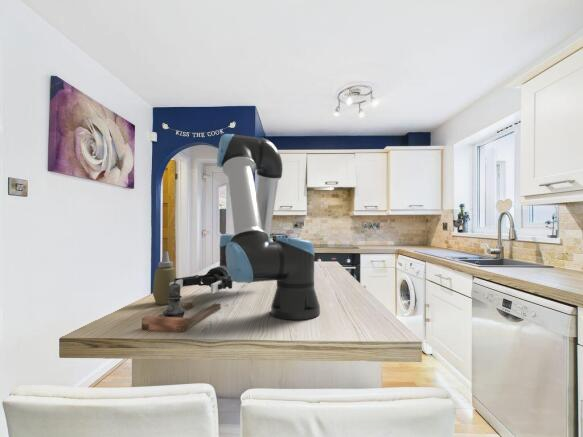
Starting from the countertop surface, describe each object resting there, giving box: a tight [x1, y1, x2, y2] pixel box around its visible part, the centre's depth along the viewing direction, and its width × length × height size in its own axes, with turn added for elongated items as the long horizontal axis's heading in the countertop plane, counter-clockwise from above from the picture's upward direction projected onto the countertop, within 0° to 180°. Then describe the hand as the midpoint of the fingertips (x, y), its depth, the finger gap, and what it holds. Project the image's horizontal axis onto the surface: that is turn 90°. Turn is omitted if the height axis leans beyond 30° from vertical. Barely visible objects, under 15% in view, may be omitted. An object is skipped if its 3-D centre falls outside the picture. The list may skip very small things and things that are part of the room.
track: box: [141, 301, 222, 333], centre depth 89 cm, size 12×23×3 cm, turn 170°
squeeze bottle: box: [152, 251, 177, 306], centre depth 106 cm, size 8×8×18 cm
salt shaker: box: [162, 280, 187, 318], centre depth 83 cm, size 6×6×12 cm
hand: (191, 288), depth 92 cm, fingers open, 13 cm apart
